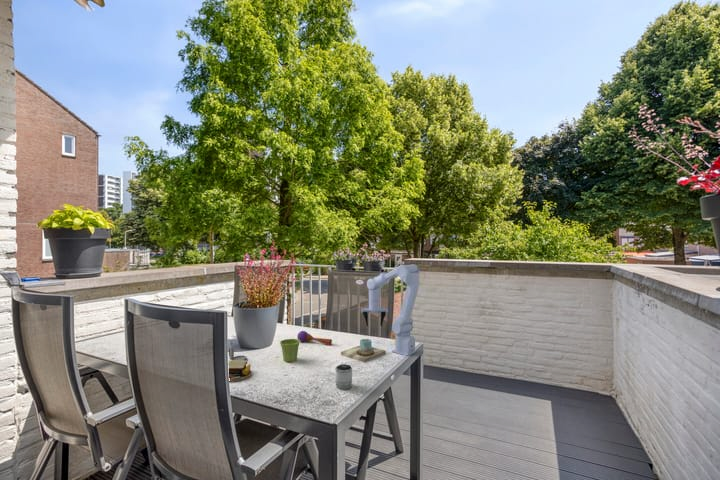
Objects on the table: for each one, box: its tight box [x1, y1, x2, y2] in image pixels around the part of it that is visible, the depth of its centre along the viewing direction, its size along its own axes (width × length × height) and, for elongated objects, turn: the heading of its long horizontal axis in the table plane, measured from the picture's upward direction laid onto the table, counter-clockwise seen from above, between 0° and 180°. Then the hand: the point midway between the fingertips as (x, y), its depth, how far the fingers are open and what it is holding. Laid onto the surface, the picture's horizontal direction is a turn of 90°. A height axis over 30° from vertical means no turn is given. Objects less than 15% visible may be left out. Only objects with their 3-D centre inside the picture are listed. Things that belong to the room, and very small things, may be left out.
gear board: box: [340, 340, 387, 363], centre depth 169 cm, size 15×16×6 cm
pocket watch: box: [228, 339, 248, 361], centre depth 160 cm, size 8×8×10 cm
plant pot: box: [279, 338, 301, 363], centre depth 161 cm, size 9×9×9 cm
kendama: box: [296, 330, 333, 346], centre depth 188 cm, size 6×6×20 cm
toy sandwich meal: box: [227, 359, 253, 382], centre depth 142 cm, size 12×14×5 cm
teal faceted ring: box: [359, 338, 373, 349], centre depth 173 cm, size 6×6×4 cm
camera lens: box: [335, 363, 353, 391], centre depth 132 cm, size 6×6×8 cm
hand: (374, 325), depth 188 cm, fingers open, 7 cm apart
